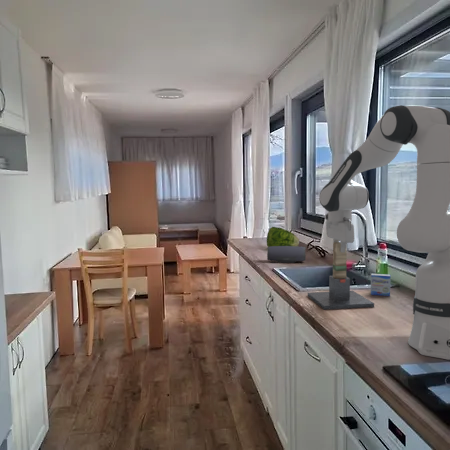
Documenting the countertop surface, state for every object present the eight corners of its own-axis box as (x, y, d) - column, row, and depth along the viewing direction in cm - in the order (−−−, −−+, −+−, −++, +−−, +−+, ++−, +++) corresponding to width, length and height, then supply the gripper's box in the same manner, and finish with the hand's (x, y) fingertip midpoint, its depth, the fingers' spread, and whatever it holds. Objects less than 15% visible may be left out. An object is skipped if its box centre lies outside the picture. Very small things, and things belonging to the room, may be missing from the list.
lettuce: (296, 258, 308) (302, 243, 296) (264, 253, 308) (269, 238, 296) (296, 241, 320) (301, 226, 308) (265, 236, 319) (269, 221, 307)
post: (346, 283, 171) (346, 243, 169) (336, 283, 170) (336, 243, 169) (342, 280, 175) (342, 241, 173) (332, 281, 174) (332, 242, 173)
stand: (374, 307, 165) (374, 281, 164) (324, 309, 162) (324, 283, 161) (352, 293, 184) (352, 271, 184) (307, 296, 182) (307, 273, 181)
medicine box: (370, 295, 182) (370, 275, 182) (370, 292, 187) (371, 272, 186) (390, 296, 180) (390, 276, 179) (390, 293, 184) (390, 274, 183)
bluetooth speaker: (305, 261, 263) (305, 245, 262) (305, 264, 254) (305, 247, 253) (268, 260, 267) (268, 244, 266) (267, 263, 258) (267, 246, 257)
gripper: (358, 218, 160) (358, 255, 162) (338, 214, 180) (337, 247, 182) (342, 219, 159) (342, 255, 161) (323, 215, 180) (323, 247, 181)
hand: (339, 251), depth 171 cm, fingers closed on post, 4 cm apart
